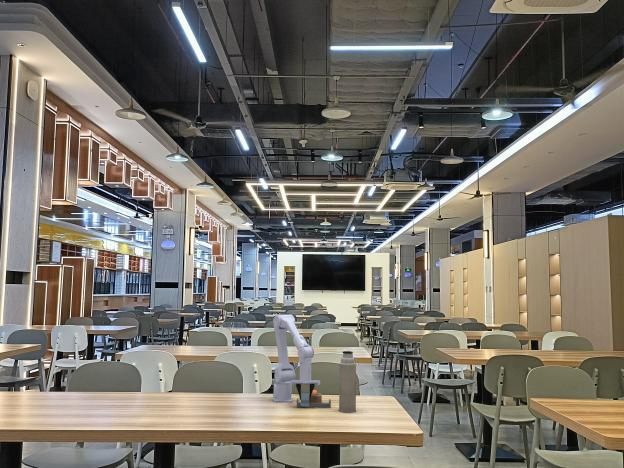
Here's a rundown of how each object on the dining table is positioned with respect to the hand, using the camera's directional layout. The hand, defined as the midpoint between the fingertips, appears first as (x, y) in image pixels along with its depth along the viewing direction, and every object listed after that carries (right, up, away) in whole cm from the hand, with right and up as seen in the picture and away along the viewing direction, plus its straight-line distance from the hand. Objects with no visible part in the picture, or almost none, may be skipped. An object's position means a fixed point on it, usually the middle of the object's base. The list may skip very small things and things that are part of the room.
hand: (305, 399), depth 276 cm
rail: (+4, -4, 0) cm, 5 cm away
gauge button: (+4, -2, +11) cm, 12 cm away
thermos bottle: (+20, -3, -8) cm, 22 cm away
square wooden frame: (+4, -5, +11) cm, 12 cm away
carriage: (0, -3, 0) cm, 3 cm away
